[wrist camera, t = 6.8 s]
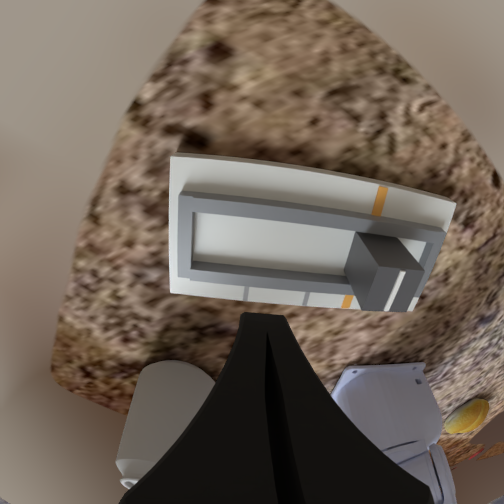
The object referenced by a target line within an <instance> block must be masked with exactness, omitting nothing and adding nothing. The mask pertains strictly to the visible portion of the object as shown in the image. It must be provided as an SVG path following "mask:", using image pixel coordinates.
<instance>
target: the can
mask: <svg viewBox="0 0 504 504" xmlns="http://www.w3.org/2000/svg"><path fill="white" fill-rule="evenodd" d="M214 385H215V382H214V380H213V379H212V378H211V377H210V376H209V375H207V374H206V373H205V372H204V371H203V370H201V369H200V368H198V367H197V366H195V365H192V364H190V363H187V362H183V361H178V360H164V361H160V362H157V363H153V364H149V365H148V366H146V367H145V368H143V370H142V371H141V373H140V376H139V379H138V382H137V386H136V389H135V392H134V396H133V399H132V402H131V406H130V409H129V413H128V417H127V420H126V424H125V427H124V431H123V435H122V439H121V443H120V447H119V451H118V455H117V459H116V465H117V467H118V469H119V470H120V472H121V473H122V475H123V478H121V479H120V482H121V483H122V485H124V486H125V487H127V488H128V489H130V488H131V487H132V486H134V485H135V484H136V483H137V482H138V481H139V480H140V479H141V478H142V477H143V476H144V475H145V474H146V473H147V472H148V471H149V470H150V469H151V468H152V467H153V466H154V465H155V464H156V463H157V462H158V461H159V460H160V459H161V458H162V456H163V455H164V454H165V453H166V452H167V451H168V450H169V448H170V447H171V446H172V445H173V444H174V443H175V442H176V440H177V439H178V438H179V437H180V435H181V434H182V433H183V431H184V430H185V429H186V427H187V426H188V425H189V423H190V422H191V420H192V419H193V418H194V416H195V415H196V414H197V412H198V411H199V409H200V408H201V406H202V404H203V403H204V401H205V400H206V398H207V396H208V395H209V393H210V391H211V390H212V388H213V386H214Z"/></svg>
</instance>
